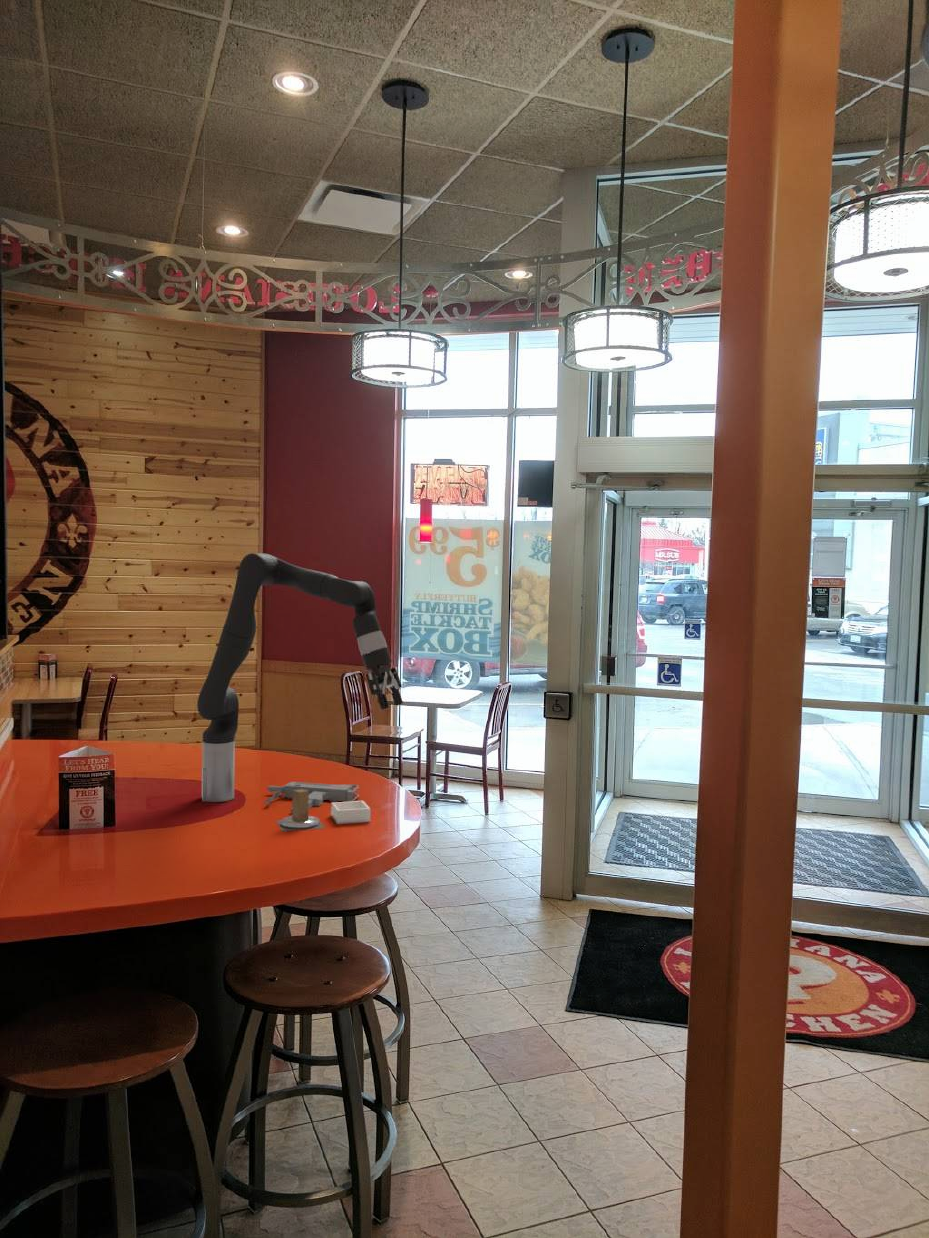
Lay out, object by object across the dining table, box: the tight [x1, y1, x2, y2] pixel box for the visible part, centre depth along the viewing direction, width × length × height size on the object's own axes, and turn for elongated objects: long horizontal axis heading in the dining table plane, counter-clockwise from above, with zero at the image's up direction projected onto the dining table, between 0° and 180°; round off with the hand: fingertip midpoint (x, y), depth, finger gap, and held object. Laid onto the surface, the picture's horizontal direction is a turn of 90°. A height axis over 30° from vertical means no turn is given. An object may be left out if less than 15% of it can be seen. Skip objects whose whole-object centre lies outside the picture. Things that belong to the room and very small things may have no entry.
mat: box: [276, 819, 325, 832], centre depth 240 cm, size 11×11×1 cm
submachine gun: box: [264, 781, 360, 815], centre depth 263 cm, size 4×28×25 cm
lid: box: [280, 789, 320, 830], centre depth 239 cm, size 10×10×9 cm
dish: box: [330, 800, 371, 825], centre depth 246 cm, size 9×9×4 cm
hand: (392, 706), depth 245 cm, fingers open, 8 cm apart
